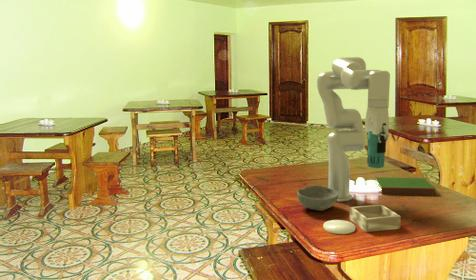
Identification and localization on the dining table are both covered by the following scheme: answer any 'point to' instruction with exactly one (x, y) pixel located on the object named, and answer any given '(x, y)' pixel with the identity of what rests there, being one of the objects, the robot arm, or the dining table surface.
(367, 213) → the wooden frame
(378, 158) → the beverage bottle
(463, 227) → the dining table surface
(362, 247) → the dining table surface
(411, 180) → the hardcover book
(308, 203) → the bowl
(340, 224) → the plate
